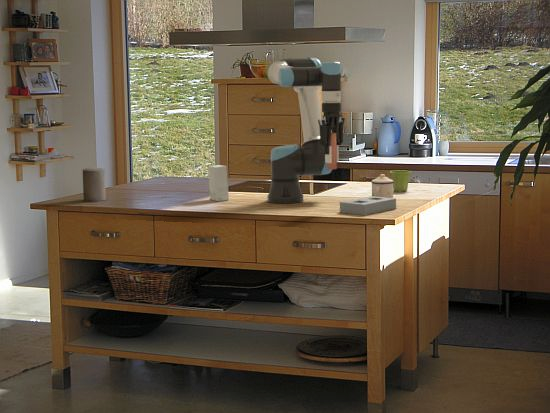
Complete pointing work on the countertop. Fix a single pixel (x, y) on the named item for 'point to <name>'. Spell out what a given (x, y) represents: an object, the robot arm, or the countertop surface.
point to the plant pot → (400, 180)
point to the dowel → (333, 152)
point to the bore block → (367, 205)
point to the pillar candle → (94, 184)
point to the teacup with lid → (382, 187)
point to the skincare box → (218, 183)
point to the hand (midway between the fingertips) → (331, 162)
